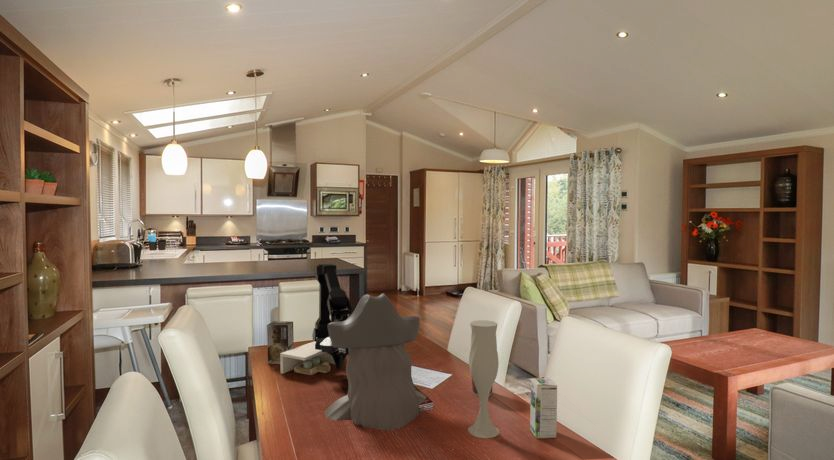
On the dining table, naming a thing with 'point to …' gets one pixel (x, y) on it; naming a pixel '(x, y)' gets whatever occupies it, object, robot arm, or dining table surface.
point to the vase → (483, 373)
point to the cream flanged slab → (302, 356)
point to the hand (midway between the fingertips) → (339, 369)
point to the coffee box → (279, 339)
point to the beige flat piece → (322, 367)
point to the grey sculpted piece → (376, 366)
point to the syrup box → (543, 408)
